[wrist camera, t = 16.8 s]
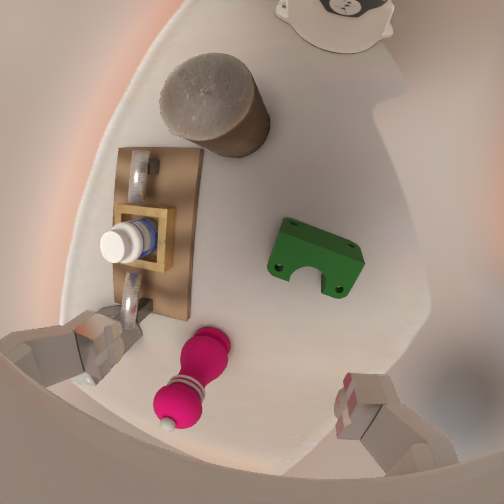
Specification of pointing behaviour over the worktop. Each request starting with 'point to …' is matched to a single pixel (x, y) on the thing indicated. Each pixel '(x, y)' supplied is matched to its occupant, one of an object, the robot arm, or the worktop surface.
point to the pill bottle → (130, 240)
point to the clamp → (316, 257)
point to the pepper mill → (192, 379)
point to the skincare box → (126, 335)
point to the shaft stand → (169, 230)
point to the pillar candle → (215, 105)
